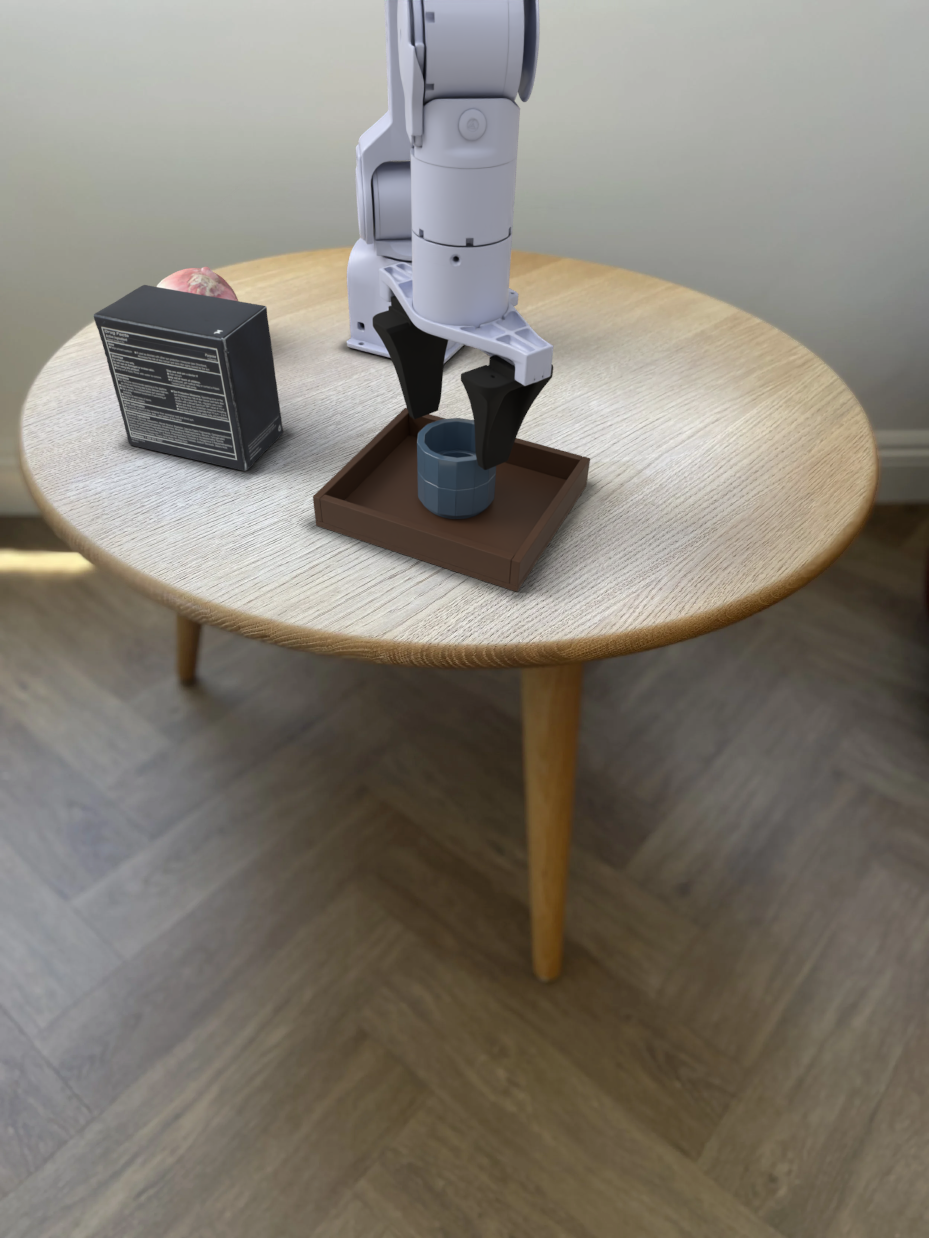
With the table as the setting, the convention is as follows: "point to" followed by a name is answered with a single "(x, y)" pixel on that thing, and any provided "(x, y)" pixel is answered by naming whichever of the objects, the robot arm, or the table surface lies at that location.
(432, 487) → the cup
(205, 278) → the onion
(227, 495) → the table surface
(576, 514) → the table surface
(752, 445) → the table surface
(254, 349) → the small box
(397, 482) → the tray
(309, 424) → the table surface
